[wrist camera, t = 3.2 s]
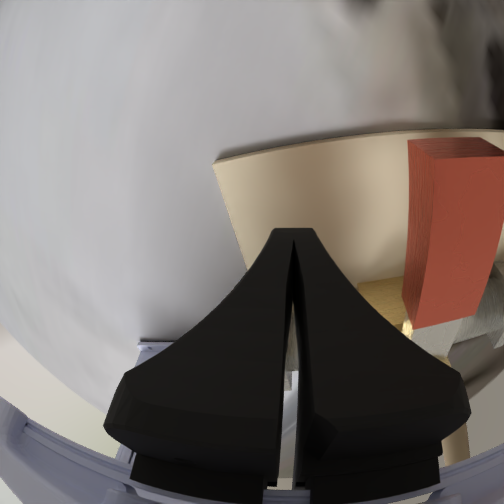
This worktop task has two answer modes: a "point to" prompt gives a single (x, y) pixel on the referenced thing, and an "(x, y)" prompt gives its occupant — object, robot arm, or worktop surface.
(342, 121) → the worktop surface
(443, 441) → the handle
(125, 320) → the worktop surface
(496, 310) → the valve
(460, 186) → the lever
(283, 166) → the board
